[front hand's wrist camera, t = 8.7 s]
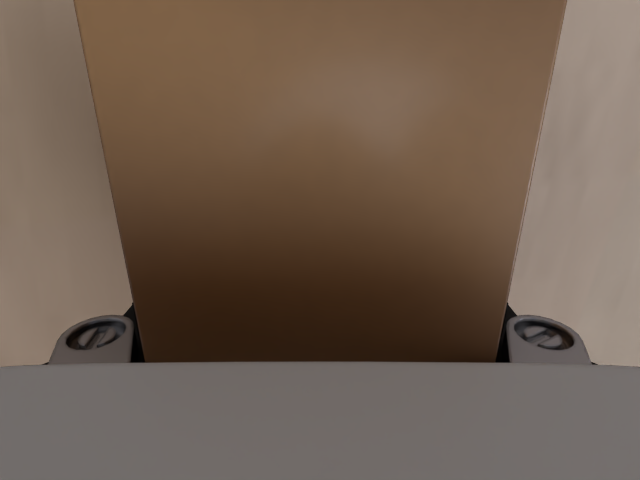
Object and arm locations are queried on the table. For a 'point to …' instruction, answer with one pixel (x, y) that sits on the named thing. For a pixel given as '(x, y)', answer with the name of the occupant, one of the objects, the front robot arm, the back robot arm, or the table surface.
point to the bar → (320, 170)
